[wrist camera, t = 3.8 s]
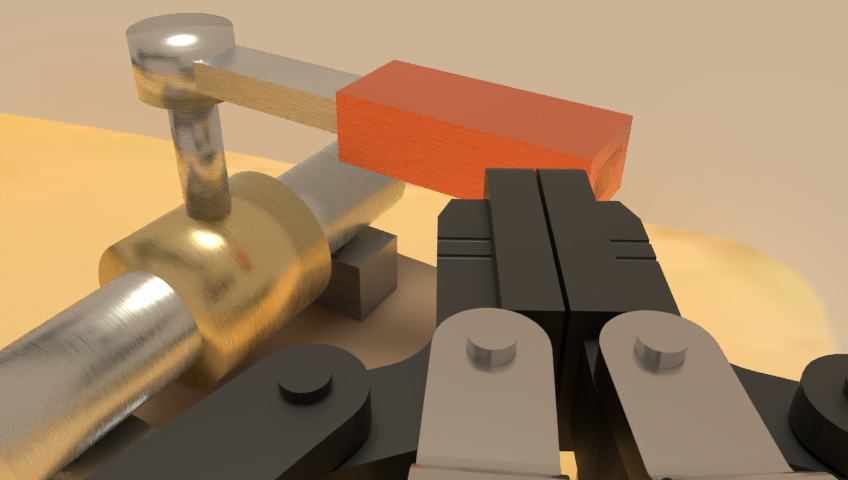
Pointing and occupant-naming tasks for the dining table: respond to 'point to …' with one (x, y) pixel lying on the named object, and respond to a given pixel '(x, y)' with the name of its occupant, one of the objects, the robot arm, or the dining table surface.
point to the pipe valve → (192, 298)
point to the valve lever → (382, 109)
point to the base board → (333, 337)
